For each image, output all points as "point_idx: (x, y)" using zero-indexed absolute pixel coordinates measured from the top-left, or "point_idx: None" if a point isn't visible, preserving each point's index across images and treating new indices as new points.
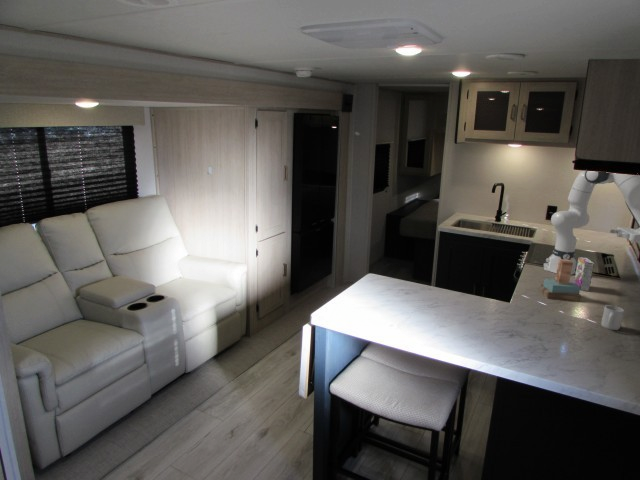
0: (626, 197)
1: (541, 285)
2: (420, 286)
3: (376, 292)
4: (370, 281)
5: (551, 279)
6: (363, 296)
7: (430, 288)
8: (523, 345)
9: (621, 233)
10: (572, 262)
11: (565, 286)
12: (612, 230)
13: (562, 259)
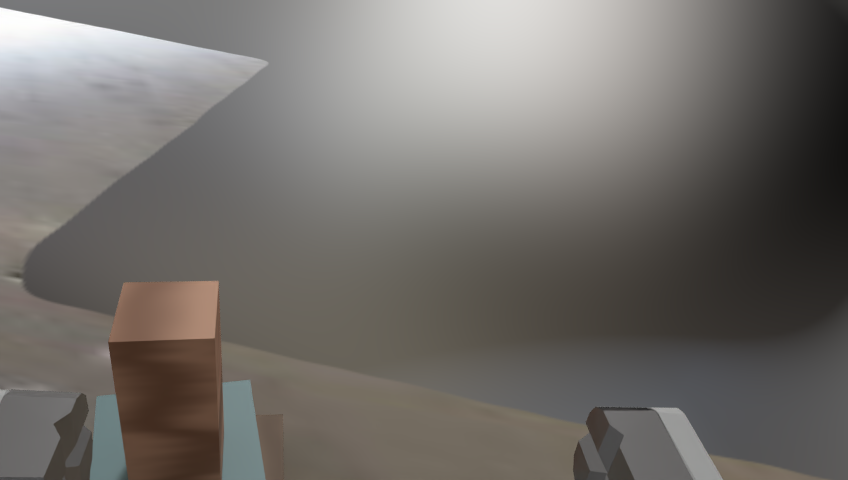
0: None
1: (269, 417)
2: (186, 111)
3: (100, 52)
4: (202, 54)
5: (251, 417)
6: (60, 37)
7: (170, 124)
8: None
9: (2, 475)
10: (119, 341)
11: (90, 474)
12: (599, 435)
13: (211, 297)
